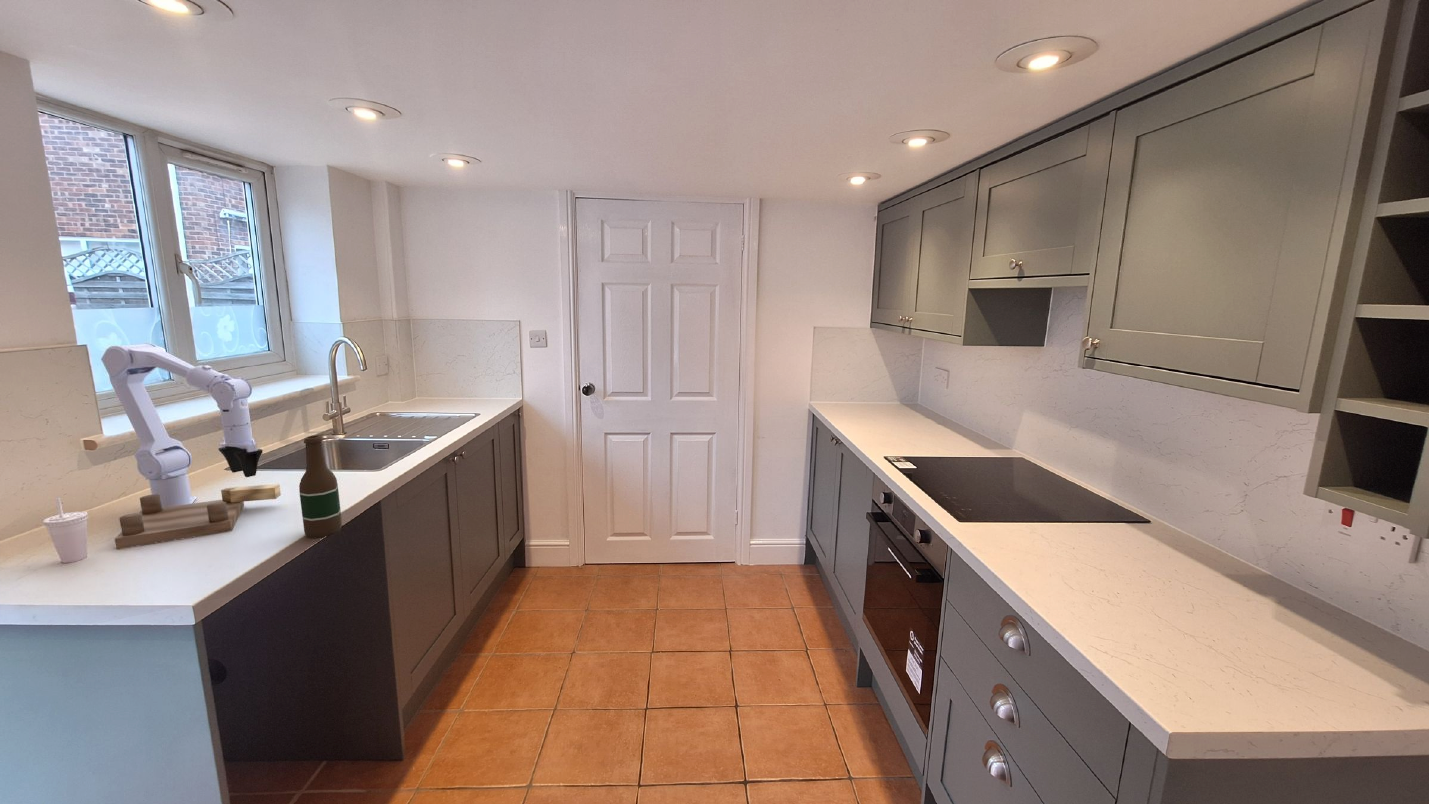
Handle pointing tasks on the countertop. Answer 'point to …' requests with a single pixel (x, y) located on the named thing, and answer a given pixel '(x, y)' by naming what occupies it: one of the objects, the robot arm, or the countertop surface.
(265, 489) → the oak leg
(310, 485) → the beer bottle
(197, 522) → the stool seat
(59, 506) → the smoothie
